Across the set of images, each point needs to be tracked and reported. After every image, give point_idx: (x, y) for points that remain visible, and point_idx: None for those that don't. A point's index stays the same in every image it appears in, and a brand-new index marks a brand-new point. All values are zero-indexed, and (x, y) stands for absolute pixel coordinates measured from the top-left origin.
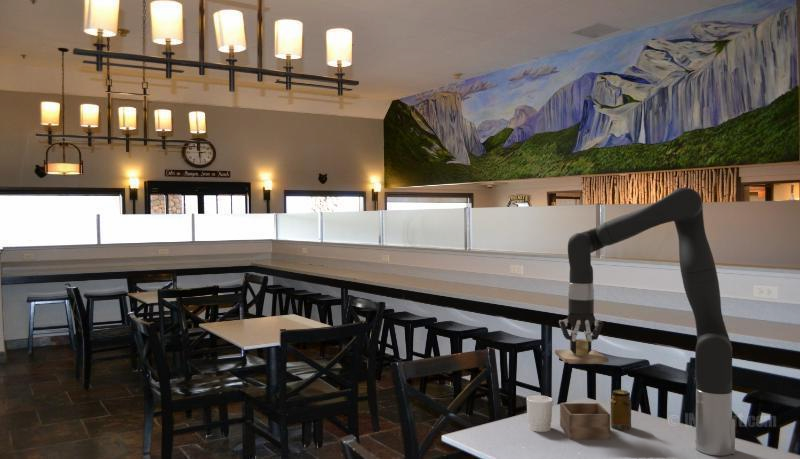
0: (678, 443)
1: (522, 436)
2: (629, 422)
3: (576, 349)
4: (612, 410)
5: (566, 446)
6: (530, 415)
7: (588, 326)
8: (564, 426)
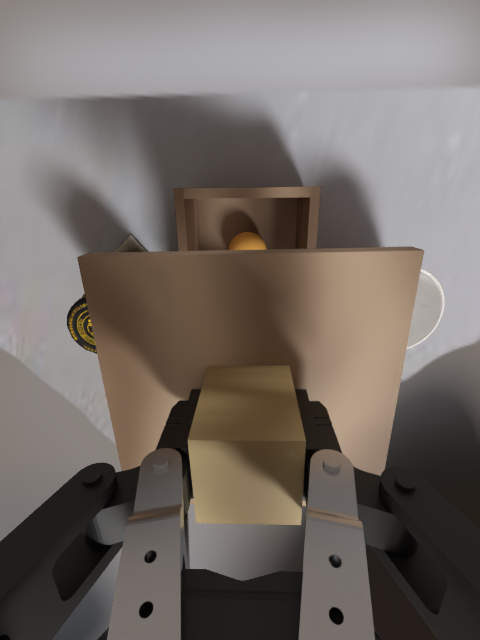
0: (8, 180)
1: (423, 234)
2: None
3: (294, 392)
4: None
5: (325, 147)
6: None
7: (129, 633)
8: None
